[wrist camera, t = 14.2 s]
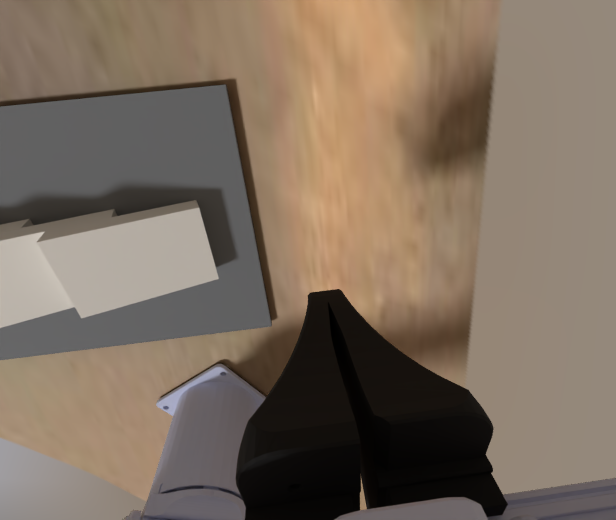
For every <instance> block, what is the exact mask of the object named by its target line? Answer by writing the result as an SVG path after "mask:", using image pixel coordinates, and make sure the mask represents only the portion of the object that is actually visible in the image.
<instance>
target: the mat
mask: <svg viewBox="0 0 616 520" xmlns="http://www.w3.org/2000/svg"><path fill="white" fill-rule="evenodd" d="M193 200H196V201H197V203H198V206H199V209H200V213H201V216H202V220H203V223H204V227H205V231H206V234H207V238H208V241H209V245H210V249H211V252H212V256H213V259H214V263H215V267H216V270H217V274H218V278H219V279H217V280H213V281H210V282H206V283H203V284H199V285H196V286H193V287H189V288H186V289H182V290H179V291H175V292H172V293H168V294H165V295H161V296H158V297H154V298H151V299H147V300H144V301H141V302H137V303H134V304H130V305H127V306H123V307H120V308H116V309H113V310H109V311H106V312H102V313H99V314H95V315H92V316H89V317H85V318H82V319H81V317H80V315H79V313H78V312H77V310H76V308H75V307H73V308H70V309H66V310H62V311H59V312H55V313H52V314H48V315H45V316H41V317H38V318H34V319H31V320H27V321H23V322H20V323H16V324H13V325H9V326H6V327H2V328H0V360H5V359H14V358H22V357H30V356H38V355H46V354H54V353H62V352H70V351H78V350H86V349H94V348H102V347H110V346H118V345H126V344H134V343H142V342H150V341H158V340H166V339H174V338H182V337H190V336H198V335H206V334H214V333H222V332H230V331H238V330H246V329H254V328H262V327H270V326H272V322H271V317H270V312H269V306H268V301H267V296H266V291H265V285H264V280H263V275H262V269H261V264H260V259H259V254H258V248H257V243H256V238H255V232H254V227H253V222H252V217H251V211H250V206H249V201H248V196H247V190H246V185H245V180H244V174H243V169H242V164H241V159H240V153H239V148H238V143H237V137H236V132H235V127H234V122H233V116H232V111H231V106H230V100H229V95H228V90H227V85H216V86H206V87H196V88H186V89H175V90H165V91H155V92H145V93H134V94H124V95H114V96H104V97H93V98H83V99H73V100H63V101H53V102H42V103H32V104H22V105H12V106H1V107H0V225H1V224H6V223H11V222H16V221H21V220H26V219H30V220H31V222H32V224H33V225H38V224H43V223H48V222H53V221H58V220H63V219H68V218H72V217H77V216H82V215H87V214H92V213H97V212H102V211H107V210H111V209H115V212H116V214H117V216H120V215H125V214H130V213H135V212H140V211H144V210H149V209H154V208H159V207H164V206H169V205H174V204H178V203H183V202H188V201H193Z"/></svg>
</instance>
